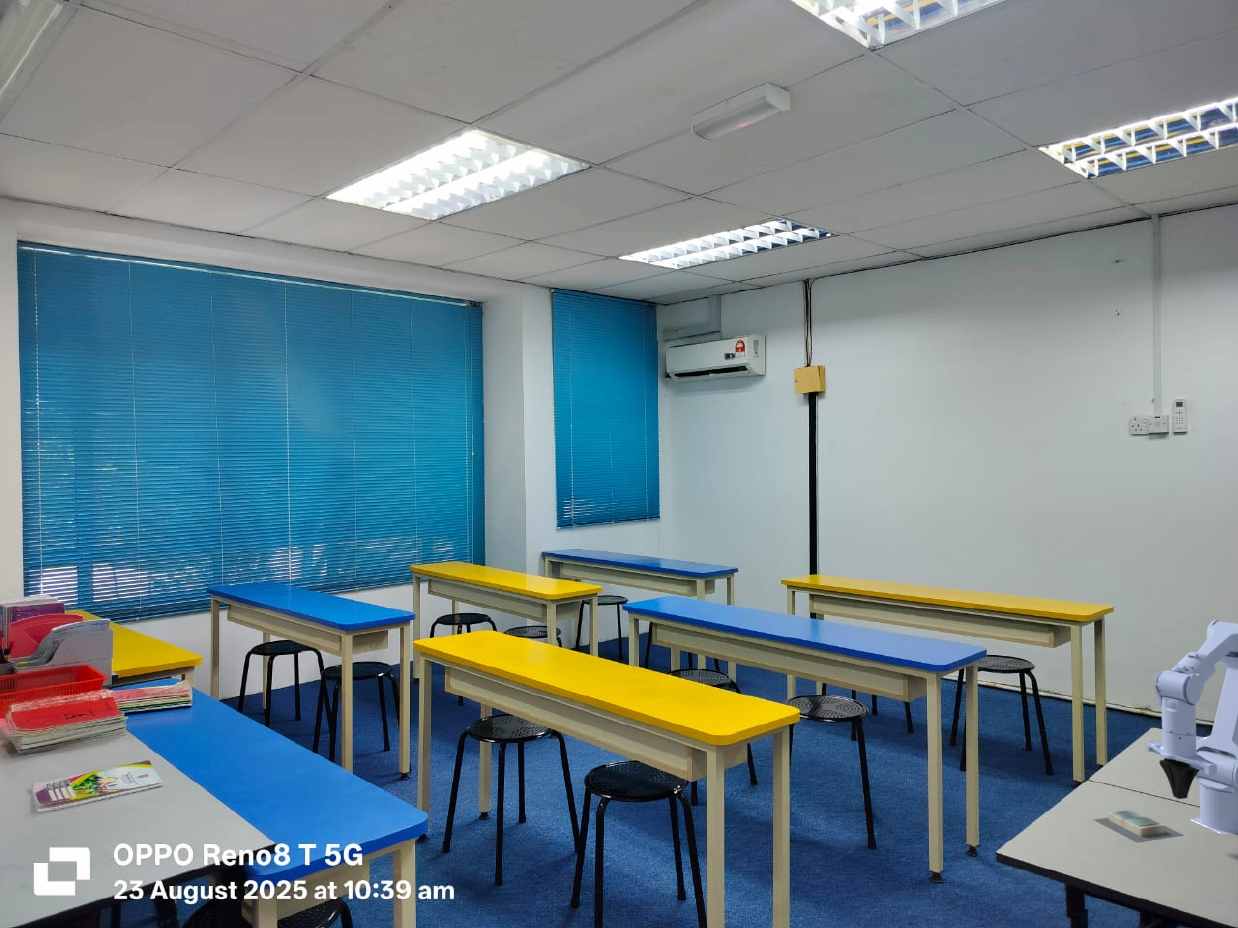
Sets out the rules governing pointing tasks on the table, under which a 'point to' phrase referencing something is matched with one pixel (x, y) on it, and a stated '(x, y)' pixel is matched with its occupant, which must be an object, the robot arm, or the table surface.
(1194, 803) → the table surface
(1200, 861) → the table surface
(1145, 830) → the birch framed mirror
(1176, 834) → the rubber mat
